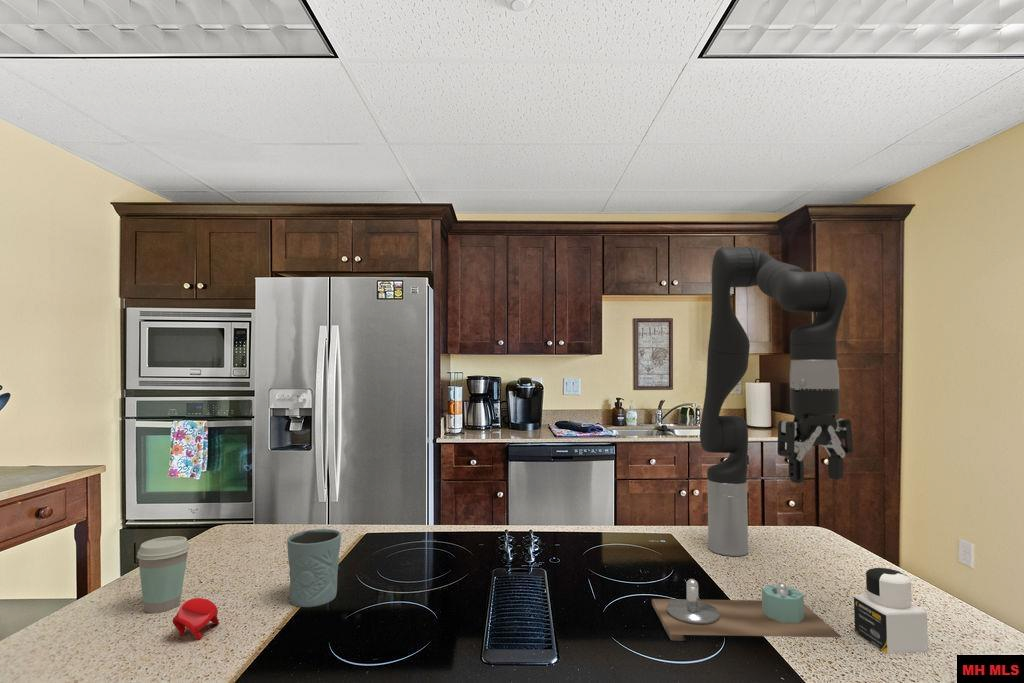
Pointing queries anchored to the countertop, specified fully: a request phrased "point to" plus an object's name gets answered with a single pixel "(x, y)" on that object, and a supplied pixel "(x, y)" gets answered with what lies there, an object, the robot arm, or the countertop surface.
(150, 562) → the coffee cup
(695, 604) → the steel hub
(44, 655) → the countertop surface
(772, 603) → the sage ring
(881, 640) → the medicine bottle
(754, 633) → the walnut board
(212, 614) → the red toy chair
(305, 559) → the embossed green cup
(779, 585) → the stand rod
